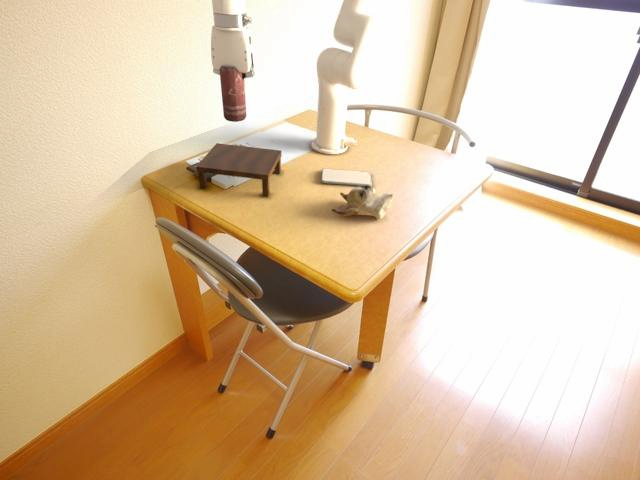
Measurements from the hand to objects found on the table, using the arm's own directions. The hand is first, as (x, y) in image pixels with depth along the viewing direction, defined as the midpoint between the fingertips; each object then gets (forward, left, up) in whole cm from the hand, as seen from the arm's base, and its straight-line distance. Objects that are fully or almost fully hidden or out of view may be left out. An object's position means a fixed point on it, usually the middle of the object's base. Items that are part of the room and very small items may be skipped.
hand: (235, 98), depth 108 cm
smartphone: (-31, -5, -23) cm, 39 cm away
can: (0, 0, -6) cm, 6 cm away
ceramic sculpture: (-37, +13, -23) cm, 46 cm away
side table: (-1, +3, -23) cm, 23 cm away
